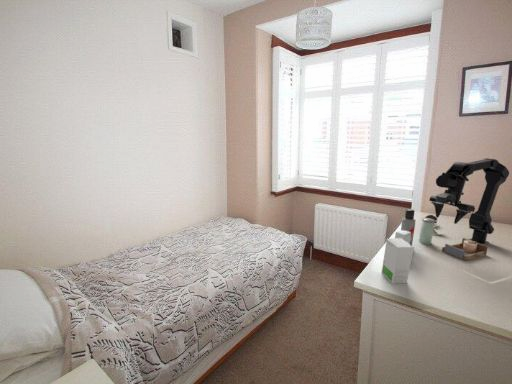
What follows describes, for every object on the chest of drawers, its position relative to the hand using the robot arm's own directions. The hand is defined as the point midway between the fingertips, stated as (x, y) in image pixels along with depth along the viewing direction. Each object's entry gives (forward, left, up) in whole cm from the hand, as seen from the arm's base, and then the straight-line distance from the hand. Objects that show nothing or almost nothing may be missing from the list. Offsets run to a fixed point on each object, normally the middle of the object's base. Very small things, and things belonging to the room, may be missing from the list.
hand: (445, 220), depth 133 cm
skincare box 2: (+44, +12, -15) cm, 48 cm away
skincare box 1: (+26, -1, -15) cm, 30 cm away
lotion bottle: (+16, -7, -15) cm, 23 cm away
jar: (-7, +8, -14) cm, 18 cm away
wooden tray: (-3, +8, -15) cm, 17 cm away
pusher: (+4, +8, -14) cm, 16 cm away
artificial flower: (-19, -18, -15) cm, 30 cm away
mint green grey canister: (+2, -7, -15) cm, 16 cm away
